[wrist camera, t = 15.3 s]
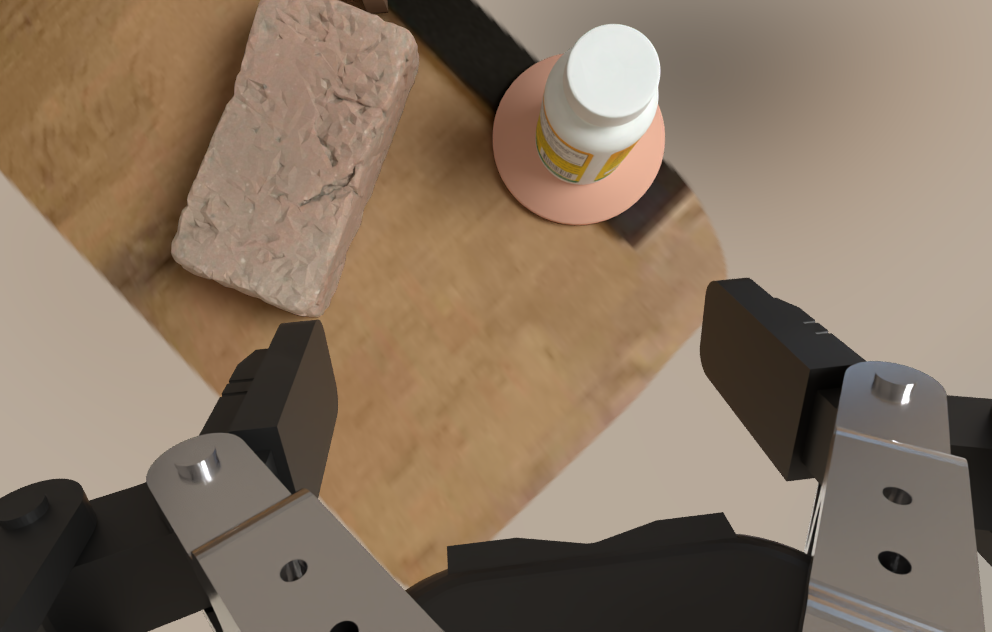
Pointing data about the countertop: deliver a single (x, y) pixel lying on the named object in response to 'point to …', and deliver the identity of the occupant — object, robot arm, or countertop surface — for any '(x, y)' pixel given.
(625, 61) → the supplement bottle
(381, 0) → the wooden frame
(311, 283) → the brick
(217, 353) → the countertop surface
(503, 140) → the pink round coaster
